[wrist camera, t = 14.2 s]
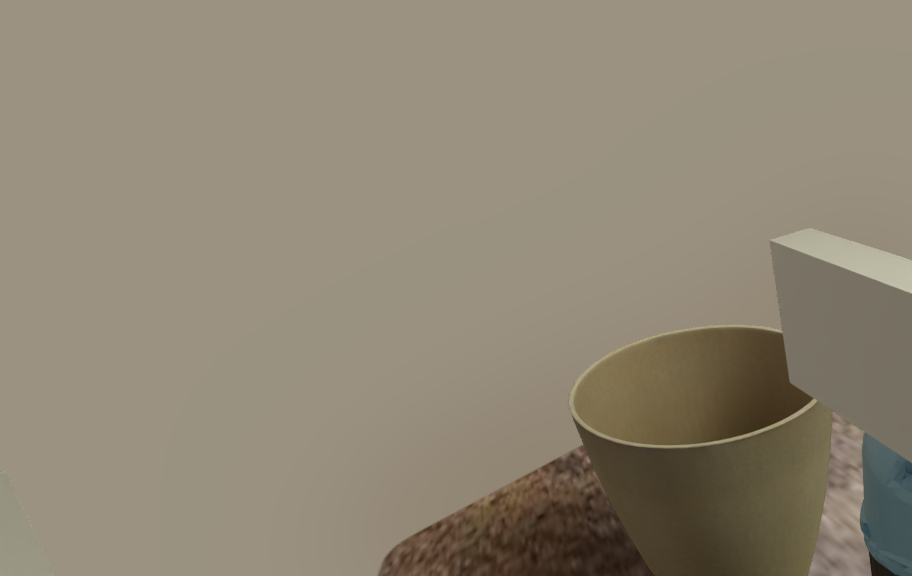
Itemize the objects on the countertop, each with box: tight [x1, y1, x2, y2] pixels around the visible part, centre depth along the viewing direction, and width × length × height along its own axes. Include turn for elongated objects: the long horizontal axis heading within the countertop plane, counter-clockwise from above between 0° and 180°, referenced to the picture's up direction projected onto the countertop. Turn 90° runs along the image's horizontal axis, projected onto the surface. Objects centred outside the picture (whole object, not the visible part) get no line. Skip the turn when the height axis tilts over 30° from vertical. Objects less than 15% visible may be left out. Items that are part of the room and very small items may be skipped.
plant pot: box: [568, 325, 832, 576], centre depth 50 cm, size 15×15×16 cm
